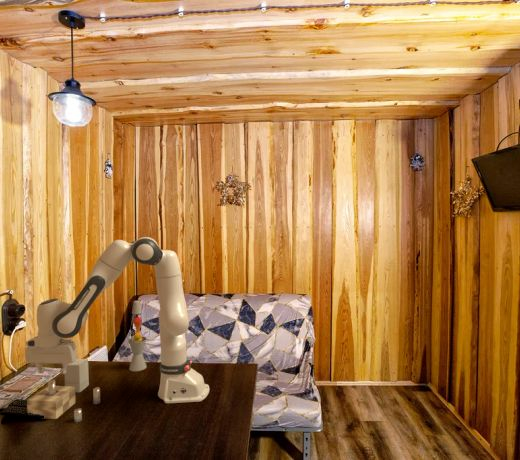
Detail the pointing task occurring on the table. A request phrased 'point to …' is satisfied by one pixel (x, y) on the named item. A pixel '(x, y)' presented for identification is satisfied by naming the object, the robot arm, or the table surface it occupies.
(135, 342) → the lava lamp
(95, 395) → the medium steel pin
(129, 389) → the table surface
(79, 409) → the short steel pin
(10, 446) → the table surface
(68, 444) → the table surface
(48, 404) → the birch hole block
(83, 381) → the supplement box
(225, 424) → the table surface
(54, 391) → the long steel pin
